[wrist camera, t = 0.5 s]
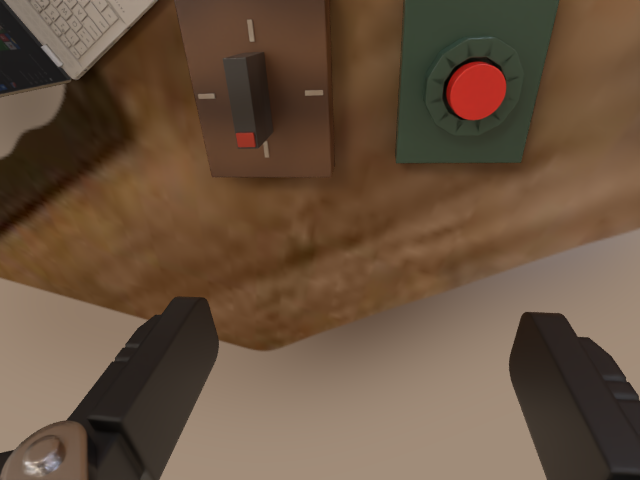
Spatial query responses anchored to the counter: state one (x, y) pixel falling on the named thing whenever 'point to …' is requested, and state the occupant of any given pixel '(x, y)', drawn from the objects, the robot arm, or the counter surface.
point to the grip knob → (249, 98)
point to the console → (282, 76)
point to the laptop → (59, 38)
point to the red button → (476, 90)
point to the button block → (452, 53)
